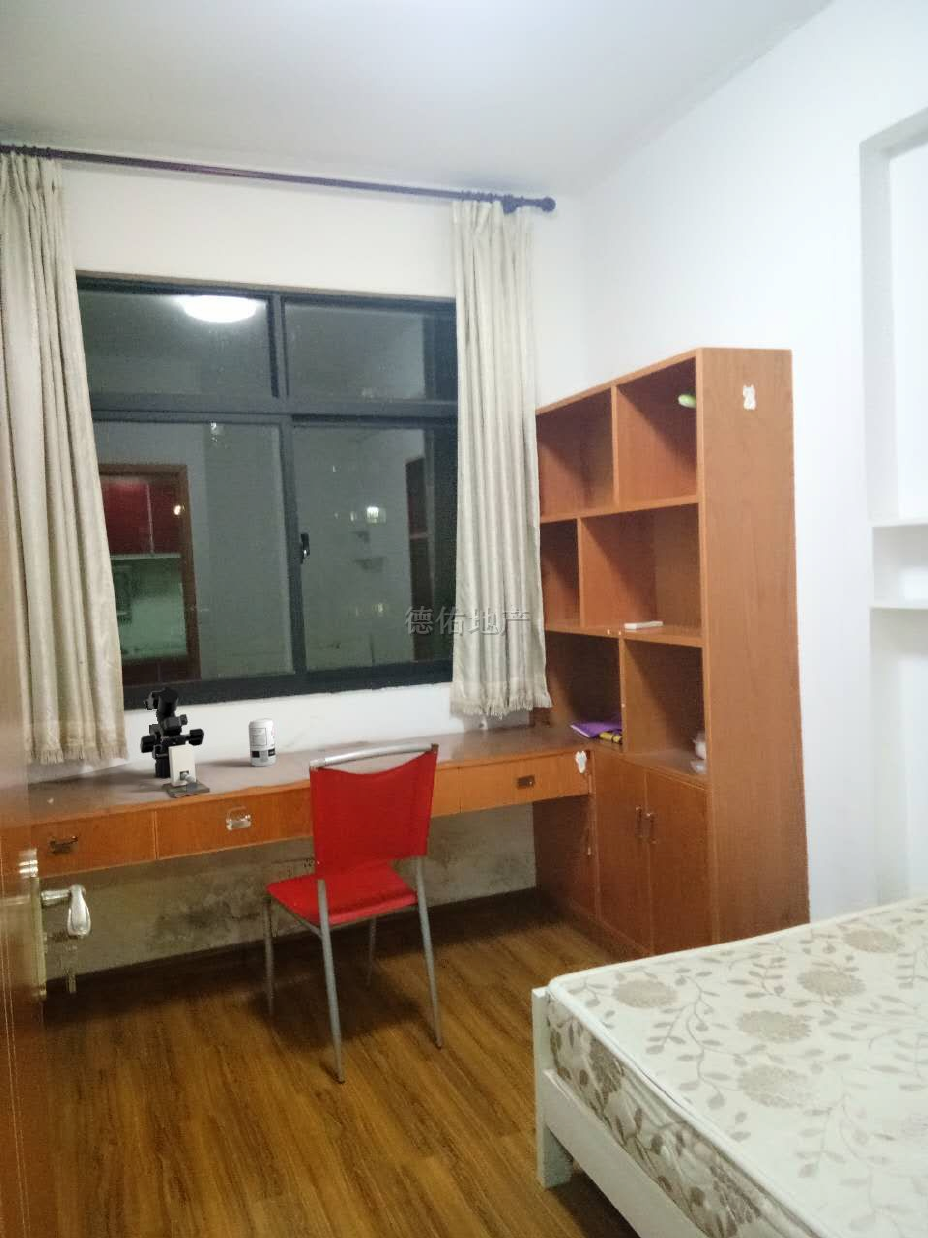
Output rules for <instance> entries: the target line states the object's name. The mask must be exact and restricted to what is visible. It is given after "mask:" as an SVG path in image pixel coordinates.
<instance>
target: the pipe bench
mask: <svg viewBox="0 0 928 1238" xmlns="http://www.w3.org/2000/svg"><path fill="white" fill-rule="evenodd" d="M180 778H183V779H184V780H185V781H187V782H188V783H186V785H181V786H175V787H174V786H173V785H172V784H171V782H167V783H162V788H163V789H164V790H165V791H166V790H167V791H166V792H168V793H169V794H170V795H171V796H172V797H173V796H174V798H175V797H177V796H184V795H189V794H196V795H198V794H197V793H201V794H206V793H210V790H211V788H209V787H208V786H206V785H205V784H203V783H202V782H201V781H200V780H198V779H197V778H196V782H195V779H194V778H193V777H192V776H191V775H189V774H188V773H186V771H181V772H180ZM184 797H185V796H184Z"/></svg>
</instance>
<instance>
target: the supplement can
mask: <svg viewBox="0 0 928 1238" xmlns="http://www.w3.org/2000/svg"><path fill="white" fill-rule="evenodd" d="M247 727H248V739H249V740H248V742H249V754H250V764H251V765H252V766H253V767H258V768H259V767H260V768H261V767H268V766H272V765H274V764H275V763H276V762H277V758H276V740H275V731H274V730H275V728H274V727H275V725H274V722H273V720H272V719H271V718H257V719H251V720H250V721H249V724H248V725H247Z"/></svg>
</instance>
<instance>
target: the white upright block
mask: <svg viewBox="0 0 928 1238" xmlns="http://www.w3.org/2000/svg"><path fill="white" fill-rule="evenodd" d="M169 759H170V772H171V777H170V783H171V784H172V785H173V786H174V787H175V786H181V785H186V783H188V782H187V781H185V780H184V779H183V778H180V772H181V771H185V772H186V773H188V774H189V775H191V776H192V777H193V778H194V779H195V782H196V779H197V778H196V766H195V749H194V746H193V745H191V744H189V743H188V744H185V745H180V746H173V747H169Z"/></svg>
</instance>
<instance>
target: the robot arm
mask: <svg viewBox="0 0 928 1238" xmlns="http://www.w3.org/2000/svg"><path fill="white" fill-rule="evenodd" d="M179 697H180V696H179V693H178V691H176V690H175V689H172V688H171V686H163V688H162V690H154V691H153V690H152V691H151V692H150V694H149V695H148V698H147V699H145V700H143V702H144V704H145V709H146V708H147V710H152V709H157V710H155V715H156V717H157V721H158V724H152V725H149V734H146V735H142V737H141V739H140V745H139V747H140V748H139V749H140V752H141V754H147V753H148V754H149V753H151V758H152V759H153V760H155V762H154V771H155V774H153V775H154V778H155V777H156V778H161V779H167V778H171V772H170V759H169V747H173V746H180V745H187V744H186V743H187V742H188V744H191V745H193V747H195V746H197V747H198V746H201V745H203V741H204V736H205V732H204V729H202V728H193V729H192V728H191V729H189V731H188V733H187V734H186V733H185V734H182V733H183V726H187V724H188V723H189V720H188V716H187V714H186V713H185V714H184V713H183V714H180V715H179V716H176V711H177V708H178V702H179Z"/></svg>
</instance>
